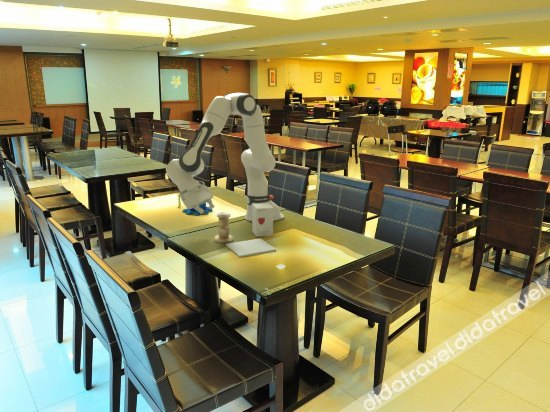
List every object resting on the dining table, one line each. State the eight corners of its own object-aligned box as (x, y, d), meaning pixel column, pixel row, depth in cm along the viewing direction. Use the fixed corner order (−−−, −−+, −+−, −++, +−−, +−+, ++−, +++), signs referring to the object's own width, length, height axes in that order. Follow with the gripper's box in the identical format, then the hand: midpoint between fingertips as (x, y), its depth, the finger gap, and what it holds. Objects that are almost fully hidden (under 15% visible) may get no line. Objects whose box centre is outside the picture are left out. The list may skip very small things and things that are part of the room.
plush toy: (216, 213, 249) (216, 200, 247) (189, 217, 241) (188, 203, 238) (205, 206, 263) (205, 193, 261) (179, 210, 254) (178, 197, 252)
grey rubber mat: (260, 239, 206) (260, 238, 205) (275, 250, 192) (275, 249, 192) (226, 245, 198) (226, 243, 197) (239, 257, 184) (239, 255, 184)
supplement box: (255, 237, 209) (256, 208, 205) (252, 231, 218) (252, 203, 214) (273, 235, 212) (273, 207, 208) (268, 230, 220) (269, 202, 216)
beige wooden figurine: (229, 235, 211) (228, 210, 208) (236, 241, 203) (236, 215, 200) (212, 238, 207) (211, 212, 204) (218, 243, 199) (218, 217, 196)
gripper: (181, 188, 195) (200, 211, 194) (204, 180, 213) (222, 201, 212) (173, 197, 198) (192, 219, 197) (197, 188, 216) (214, 209, 215)
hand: (208, 210), depth 205 cm, fingers open, 8 cm apart
